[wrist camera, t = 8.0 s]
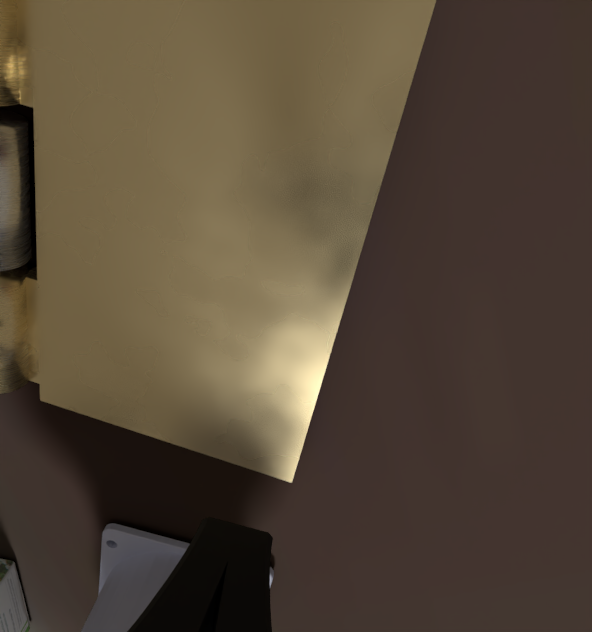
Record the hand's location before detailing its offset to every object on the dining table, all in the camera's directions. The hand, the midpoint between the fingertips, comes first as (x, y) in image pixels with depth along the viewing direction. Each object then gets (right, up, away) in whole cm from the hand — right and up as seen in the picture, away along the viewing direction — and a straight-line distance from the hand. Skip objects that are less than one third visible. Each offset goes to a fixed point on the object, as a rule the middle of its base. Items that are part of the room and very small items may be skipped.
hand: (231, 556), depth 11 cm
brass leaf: (-3, +8, +6) cm, 10 cm away
